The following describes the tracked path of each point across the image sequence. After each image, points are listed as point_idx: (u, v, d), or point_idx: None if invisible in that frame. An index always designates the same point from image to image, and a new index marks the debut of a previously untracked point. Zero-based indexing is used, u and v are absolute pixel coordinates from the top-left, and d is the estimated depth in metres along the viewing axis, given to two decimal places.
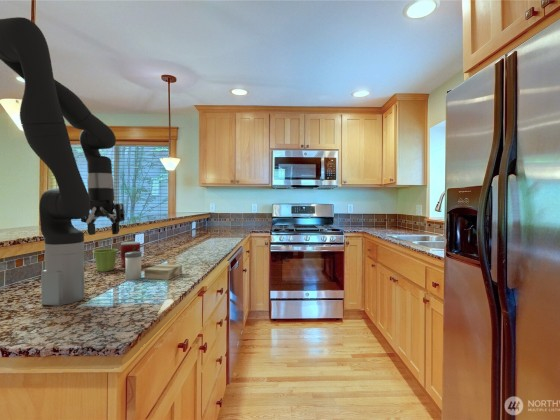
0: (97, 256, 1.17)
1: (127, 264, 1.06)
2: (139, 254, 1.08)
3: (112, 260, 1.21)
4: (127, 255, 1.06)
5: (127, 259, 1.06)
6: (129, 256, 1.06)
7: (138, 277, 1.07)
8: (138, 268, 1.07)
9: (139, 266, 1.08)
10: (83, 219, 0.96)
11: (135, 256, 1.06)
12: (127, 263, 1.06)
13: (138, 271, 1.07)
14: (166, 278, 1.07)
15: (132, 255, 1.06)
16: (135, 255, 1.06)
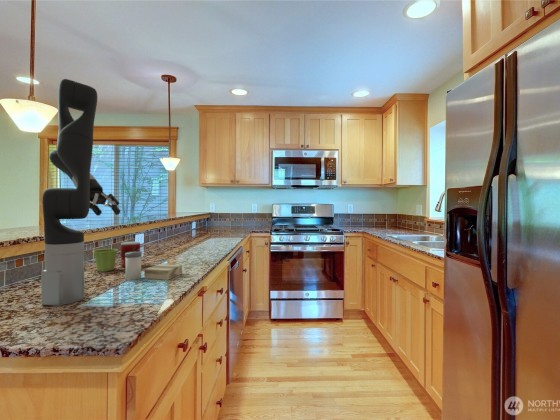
0: (97, 256, 1.17)
1: (127, 264, 1.06)
2: (139, 254, 1.08)
3: (112, 260, 1.21)
4: (127, 255, 1.06)
5: (127, 259, 1.06)
6: (128, 256, 1.06)
7: (138, 277, 1.07)
8: (138, 268, 1.07)
9: (139, 266, 1.08)
10: None
11: (135, 256, 1.06)
12: (127, 263, 1.06)
13: (138, 271, 1.07)
14: (166, 278, 1.07)
15: (132, 255, 1.06)
16: (135, 255, 1.06)
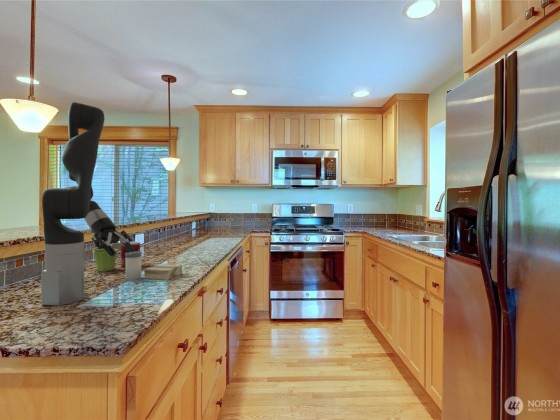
0: (97, 256, 1.17)
1: (127, 264, 1.06)
2: (139, 254, 1.08)
3: (112, 260, 1.21)
4: (127, 255, 1.06)
5: (127, 259, 1.06)
6: (129, 256, 1.06)
7: (138, 277, 1.07)
8: (138, 268, 1.07)
9: (139, 266, 1.08)
10: (103, 243, 1.04)
11: (135, 256, 1.06)
12: (127, 263, 1.06)
13: (138, 271, 1.07)
14: (166, 278, 1.07)
15: (132, 255, 1.06)
16: (135, 255, 1.06)
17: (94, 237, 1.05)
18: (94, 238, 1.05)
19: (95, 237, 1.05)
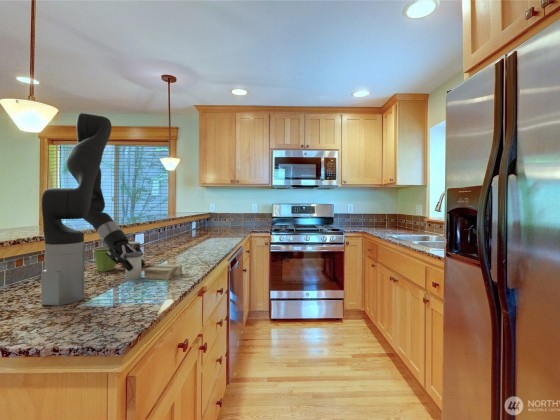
0: (97, 256, 1.17)
1: None
2: (139, 254, 1.08)
3: (112, 260, 1.21)
4: (127, 255, 1.06)
5: (127, 259, 1.06)
6: (129, 256, 1.06)
7: (138, 277, 1.07)
8: (138, 268, 1.07)
9: (139, 266, 1.08)
10: (120, 257, 1.04)
11: (135, 256, 1.06)
12: None
13: (138, 271, 1.07)
14: (166, 278, 1.07)
15: (132, 255, 1.06)
16: (135, 255, 1.06)
17: (109, 252, 1.03)
18: (109, 253, 1.03)
19: (110, 252, 1.03)
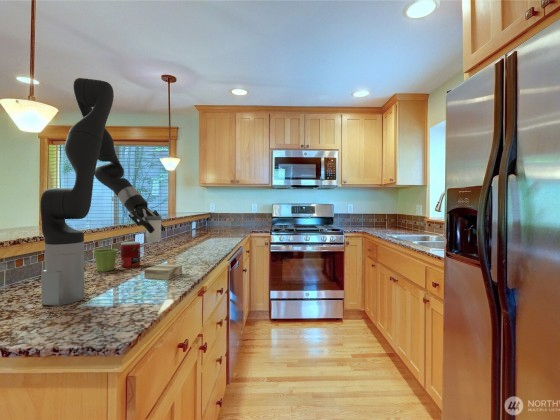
0: (97, 256, 1.17)
1: None
2: (159, 217, 1.11)
3: (112, 260, 1.21)
4: (148, 218, 1.09)
5: (148, 222, 1.09)
6: (150, 218, 1.08)
7: (159, 240, 1.10)
8: (159, 231, 1.10)
9: (159, 229, 1.11)
10: (142, 219, 1.07)
11: (156, 219, 1.09)
12: None
13: (159, 234, 1.10)
14: (166, 278, 1.07)
15: (153, 218, 1.09)
16: (156, 218, 1.09)
17: (131, 214, 1.06)
18: (132, 215, 1.06)
19: (133, 214, 1.06)
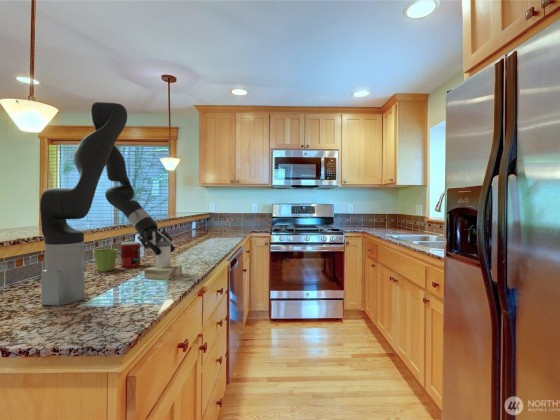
0: (97, 256, 1.17)
1: None
2: (169, 243, 1.12)
3: (112, 260, 1.21)
4: (158, 244, 1.10)
5: None
6: (159, 245, 1.10)
7: (168, 265, 1.11)
8: (168, 257, 1.11)
9: (169, 255, 1.12)
10: (149, 242, 1.07)
11: (166, 245, 1.10)
12: None
13: (168, 260, 1.11)
14: (166, 278, 1.07)
15: (163, 244, 1.10)
16: (166, 244, 1.10)
17: (140, 236, 1.07)
18: (140, 237, 1.07)
19: (141, 236, 1.07)
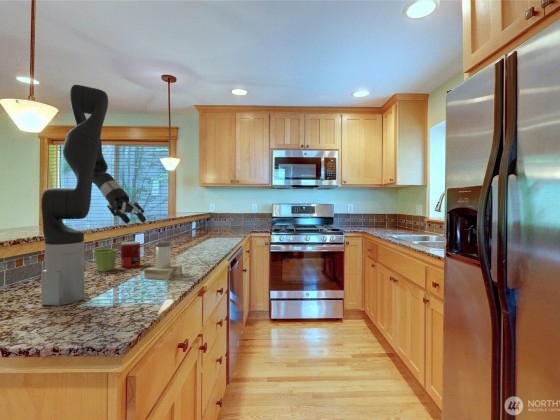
0: (97, 256, 1.17)
1: (158, 253, 1.10)
2: (169, 243, 1.12)
3: (112, 260, 1.21)
4: (158, 244, 1.10)
5: (158, 248, 1.10)
6: (159, 245, 1.10)
7: (168, 266, 1.11)
8: (168, 257, 1.11)
9: (169, 255, 1.12)
10: (118, 210, 1.10)
11: (165, 245, 1.10)
12: (158, 252, 1.10)
13: (168, 260, 1.11)
14: (166, 278, 1.07)
15: (163, 244, 1.10)
16: (166, 244, 1.10)
17: (110, 205, 1.10)
18: (109, 206, 1.10)
19: (110, 205, 1.10)
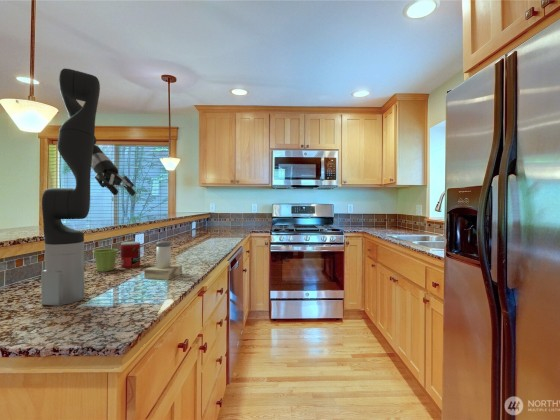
0: (97, 256, 1.17)
1: (158, 253, 1.10)
2: (169, 243, 1.12)
3: (112, 260, 1.21)
4: (158, 244, 1.10)
5: (158, 248, 1.10)
6: (160, 245, 1.10)
7: (168, 266, 1.11)
8: (168, 257, 1.11)
9: (169, 255, 1.12)
10: (106, 181, 1.08)
11: (166, 245, 1.10)
12: (158, 252, 1.10)
13: (168, 260, 1.11)
14: (166, 278, 1.07)
15: (163, 244, 1.10)
16: (166, 244, 1.10)
17: (97, 176, 1.08)
18: (97, 176, 1.08)
19: (98, 175, 1.08)
